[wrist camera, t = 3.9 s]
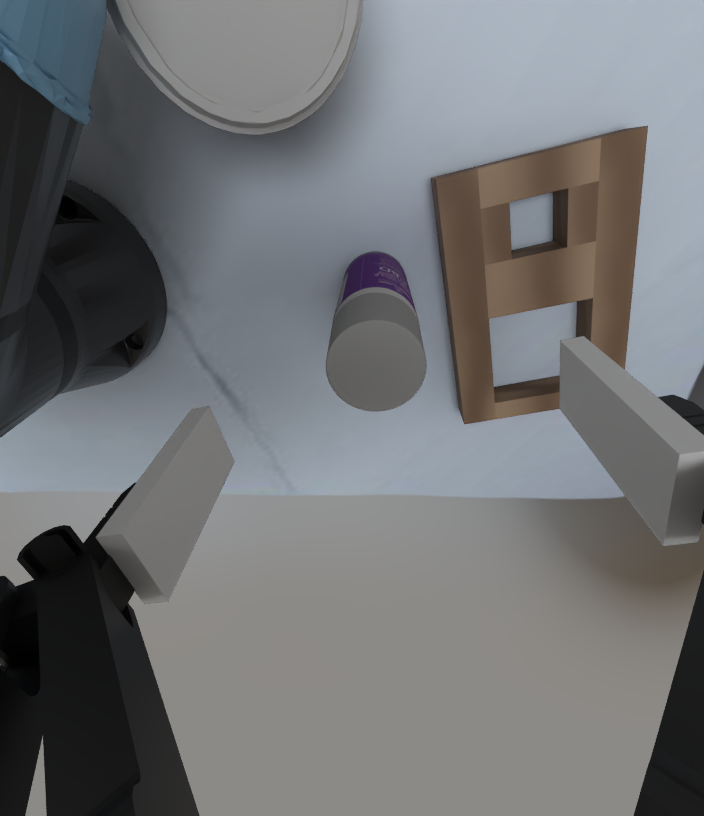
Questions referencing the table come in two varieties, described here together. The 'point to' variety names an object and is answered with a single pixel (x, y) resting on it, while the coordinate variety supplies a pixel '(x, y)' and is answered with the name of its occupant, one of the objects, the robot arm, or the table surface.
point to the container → (375, 337)
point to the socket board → (539, 258)
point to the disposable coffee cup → (242, 55)
